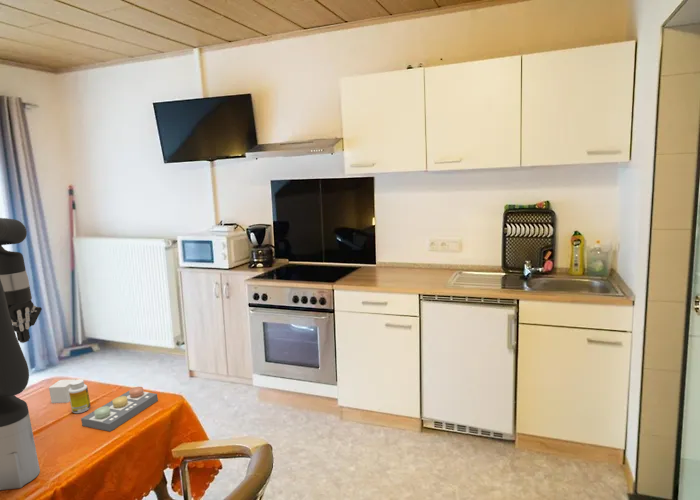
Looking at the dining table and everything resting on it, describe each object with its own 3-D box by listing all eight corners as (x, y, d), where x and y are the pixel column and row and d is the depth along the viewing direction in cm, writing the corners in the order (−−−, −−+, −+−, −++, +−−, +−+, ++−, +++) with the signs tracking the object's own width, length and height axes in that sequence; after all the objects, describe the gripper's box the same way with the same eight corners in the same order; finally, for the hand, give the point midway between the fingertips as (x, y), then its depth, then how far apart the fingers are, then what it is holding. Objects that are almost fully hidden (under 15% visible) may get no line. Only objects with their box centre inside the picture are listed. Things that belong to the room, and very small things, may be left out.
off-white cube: (51, 403, 165) (48, 387, 164) (62, 395, 171) (59, 379, 170) (68, 402, 165) (65, 387, 164) (78, 394, 171) (75, 379, 170)
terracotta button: (136, 397, 159) (136, 393, 159) (126, 396, 160) (126, 391, 160) (146, 391, 163) (145, 387, 163) (136, 390, 164) (136, 385, 164)
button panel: (110, 431, 144) (109, 423, 144) (82, 425, 149) (80, 417, 148) (157, 400, 163) (157, 393, 162) (131, 396, 167) (130, 389, 167)
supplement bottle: (92, 409, 159) (87, 381, 157) (73, 415, 155) (68, 387, 154) (89, 404, 163) (84, 376, 161) (70, 409, 160) (65, 381, 158)
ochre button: (120, 407, 152) (119, 403, 152) (110, 406, 154) (109, 401, 154) (130, 401, 156) (130, 396, 156) (120, 399, 158) (120, 395, 158)
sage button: (102, 419, 146) (101, 414, 146) (91, 417, 148) (90, 412, 147) (113, 411, 150) (112, 407, 150) (103, 410, 152) (102, 405, 151)
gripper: (-1, 293, 133) (10, 351, 136) (44, 282, 145) (53, 335, 148) (-18, 292, 136) (-7, 348, 139) (27, 281, 148) (37, 333, 151)
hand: (24, 341), depth 144 cm, fingers closed
